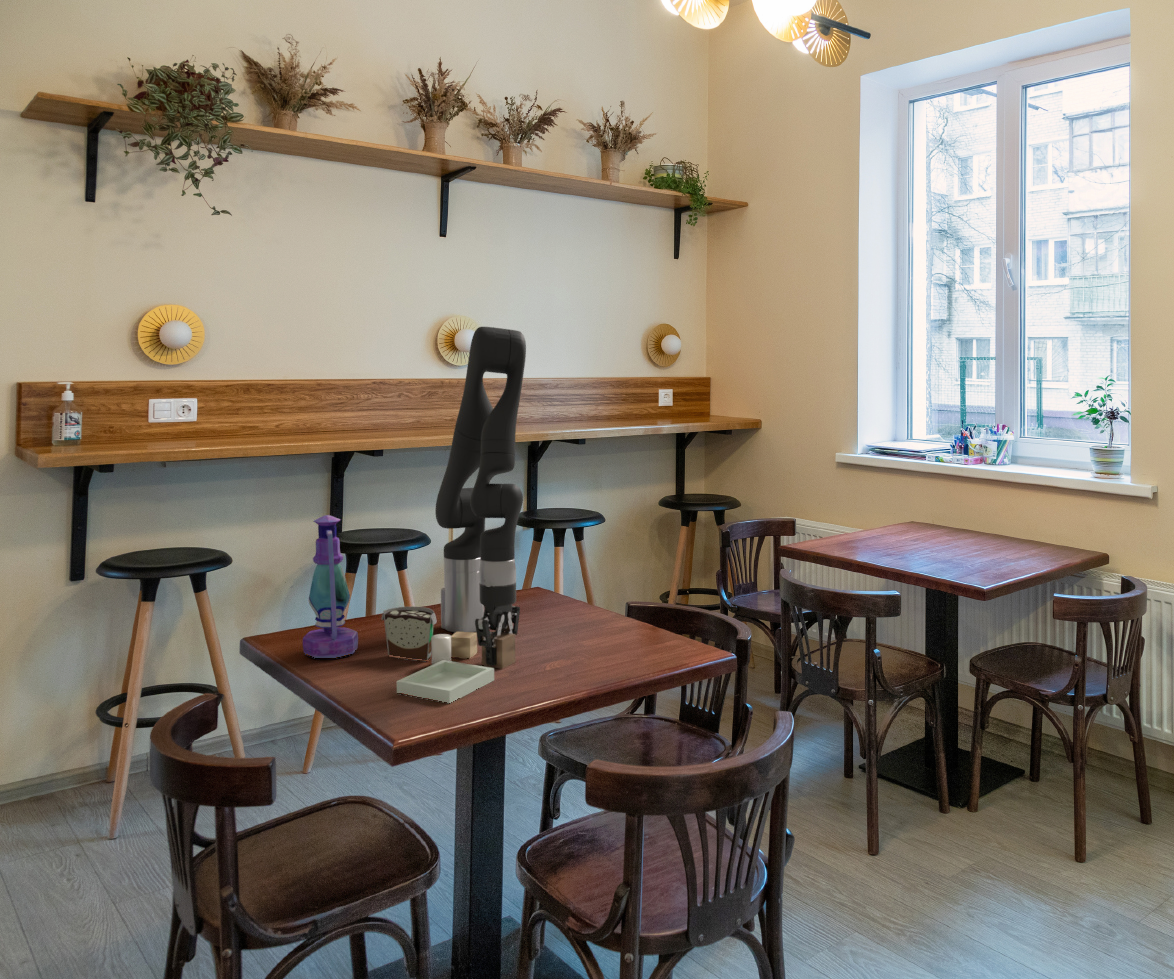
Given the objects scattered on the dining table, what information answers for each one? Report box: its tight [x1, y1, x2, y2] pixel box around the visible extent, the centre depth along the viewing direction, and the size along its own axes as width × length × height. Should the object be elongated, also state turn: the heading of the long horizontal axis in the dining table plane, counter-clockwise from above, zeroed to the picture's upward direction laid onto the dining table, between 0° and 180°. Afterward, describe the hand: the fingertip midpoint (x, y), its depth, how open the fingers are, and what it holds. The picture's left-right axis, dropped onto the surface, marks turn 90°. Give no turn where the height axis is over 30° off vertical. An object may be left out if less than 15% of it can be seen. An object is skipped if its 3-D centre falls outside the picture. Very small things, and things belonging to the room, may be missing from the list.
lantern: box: [302, 514, 359, 659], centre depth 201 cm, size 13×12×30 cm
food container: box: [380, 606, 437, 661], centre depth 201 cm, size 12×6×10 cm, turn 71°
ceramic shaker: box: [431, 633, 452, 665], centre depth 194 cm, size 4×4×6 cm
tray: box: [396, 660, 495, 704], centre depth 181 cm, size 12×15×2 cm
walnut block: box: [481, 630, 516, 670], centre depth 195 cm, size 5×5×6 cm
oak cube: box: [450, 632, 478, 660], centre depth 202 cm, size 4×4×4 cm
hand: (498, 660), depth 196 cm, fingers closed on walnut block, 5 cm apart
